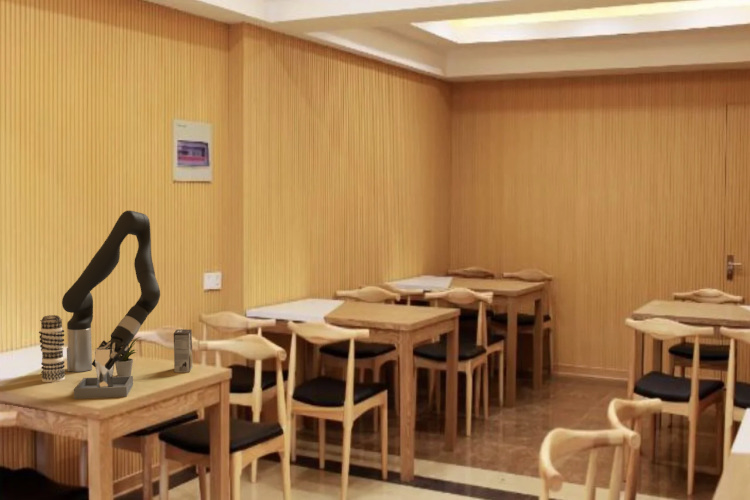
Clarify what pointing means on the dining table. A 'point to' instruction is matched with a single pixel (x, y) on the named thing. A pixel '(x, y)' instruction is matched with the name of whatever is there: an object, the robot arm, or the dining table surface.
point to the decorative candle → (52, 348)
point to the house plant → (125, 363)
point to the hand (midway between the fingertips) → (100, 367)
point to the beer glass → (103, 367)
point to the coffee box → (183, 350)
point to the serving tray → (103, 388)
